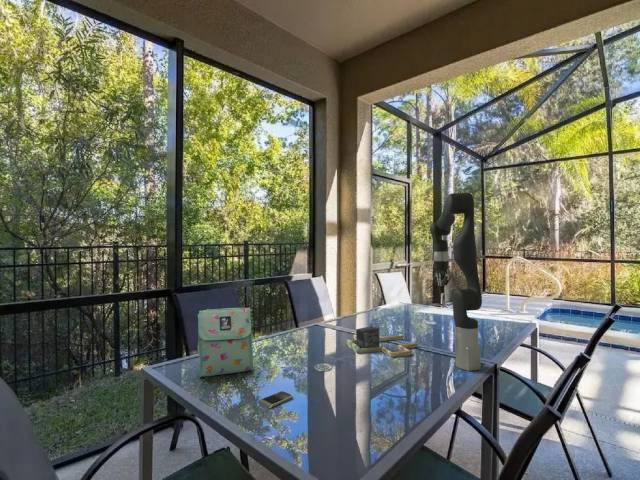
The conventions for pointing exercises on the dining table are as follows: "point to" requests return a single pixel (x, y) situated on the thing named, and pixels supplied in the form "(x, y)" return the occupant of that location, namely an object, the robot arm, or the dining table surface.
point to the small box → (367, 337)
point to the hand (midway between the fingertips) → (441, 293)
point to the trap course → (397, 352)
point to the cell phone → (275, 399)
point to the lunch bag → (224, 341)
